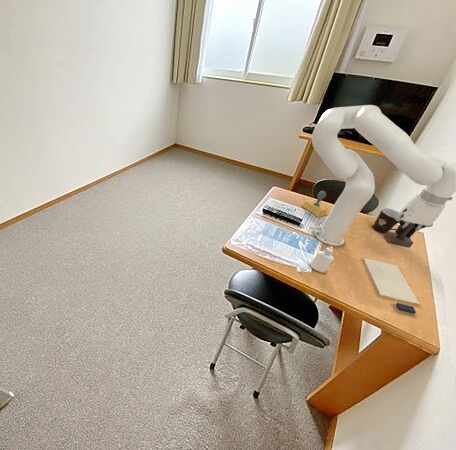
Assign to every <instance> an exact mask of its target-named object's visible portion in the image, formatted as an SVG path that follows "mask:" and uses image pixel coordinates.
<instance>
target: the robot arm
mask: <svg viewBox="0 0 456 450" xmlns="http://www.w3.org/2000/svg"><path fill="white" fill-rule="evenodd" d="M344 129H355V131H356V132H357V133H358V134H359V135H361V136H362V137H363V138H364V139H366V140H367V141H368V142H369V143H370V144H371V145H373V146H374V147H375V148H376V149H377V150H378V151H380V153H382V154H383V155H384V157H386V159H388V160H389V161H390V162H391V163H392V165H394V166H395V167H396V168H397V169H398V170H399V171H400V172H401V173H403V174H404V176H406V177H407V178H409V179H410V180H411V181H412V182H414V183H415V184H417V185H419V186H425V187H424V188H423V189H422V190H421V192H420V193H419V194H415V195H414V196H413V197H412V198H411V199H409V201H407V202H406V204H404V206H402V208H401V209H400V210H399V211H398V212H399V215H397V216H395V217H394V218H395V220H396V221H398V222H399V223H398V224H399V225H398V226H397V228H395V229H396V230H394V233H396V234H397V236H401V235H402V234H403V232H404V231H405V230H406V229H405V228H406V226H407V225H408V224H409V223H410V222H411V223H414V224H415V226H414V227H413V229H412V230H411V231H410V232H409V233H408V234H407V236H406V237H407V238H410V239H411V237H412V236H413V235H414V234H415V233H416V232H419V231H420V230H422V229H425V228H431V227H433V225H434V222H436V220H437V219H438V218H439V217H440V215H441V214H442V212H443V210H444V209H445V207H446V203H447V202H448V201H452V200H453V197H452V196H453V195H454V194H455V192H456V163H455V162H448V161H445V160H442V159H439V158H437V157H434V156H431V155H425V154H424V153H423V152H422V151H421V150H420V149H419V147H418V146H416V145H415V143H414V142H413V140H412V138H411V137H410V136H409V135H408V133H407V132H406V131H404V130H403V129H402V128H401V127H399V126H398V125H396V124H395V123H394V122H393V121H392V120H390V118H388V117H387V116H386V115H385V114H383V113H382V110H381V109H380V107H379V106H377V105H374V104H364V105H363V104H362V105H351V106H350V105H349V106H338V107H332V108H329V109H327V110H325V112H323V113H322V115H321V116H320V118H319V120H318V122H317V124H316V125H315V127H314V129H313V131H312V134H311V144H312V147H313V149H314V150H315V152H316V153H317V155H318V156H319V157H320V158H321V160H322V161H323V163H324V164H325V165H326V167H327V168H328V169H329V171H330V172H331V174H332V175H333V176H334V177H336V178H338V179H339V180H340V179H341V180H344V181H345V186H344V189H343V191H342V192H341V194H340V195H339V196H338V197H337V200H336V201H335V203H334V204H333V205H332V208H331V209H330V211H329V213H328V214H327V217H326V218H325V220H324V221H323V223H319V225H314V224H309V226H308V229H309V230H312V232H313V233H314V236H315V237H316V239H317V240H319V241H320V242H321V243H323V244H326V245H331V246H341V245H344V244H345V238H344V237H345V235H346V233H347V232H348V231H349V229H350V227H352V225H353V223H354V221H355V220H356V218H357V217H358V215H359V214H360V212H361V211H362V210H363V208H364V207H365V206H366V205H367V203H368V202H369V201H370V200H371V198H372V197H373V195H374V193H375V190H376V184H375V183H376V182H375V175H374V173H373V171H372V170H371V169H370V168H369V166H368V165H367V164H366V162H364V159H362V158H361V156H360V155H359V153H358V152H356V151H355V150H353V149H351V148H346V147H345V145H344V144H343V143H342V141H340V139H339V138H338V134H339V133H340V131H341V130H344ZM401 218H402V219H401Z"/></svg>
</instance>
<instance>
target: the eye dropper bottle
mask: <svg viewBox="0 0 456 450" xmlns="http://www.w3.org/2000/svg"><path fill="white" fill-rule="evenodd" d="M333 248H334V247H333V245H331V246H329V247H326V248H325V250H319V251H318V252H317V254H316V255H315V257H314V258H313V260H312V261H311V263H310V267H311V269H313V270H314V271H316V272H319V273H322V274H324V273H326V271H327V270H328V269H329V267H330V266H331V265H332V263H333V262H334V256H333V253H334V249H333Z"/></svg>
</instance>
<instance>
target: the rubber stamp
mask: <svg viewBox="0 0 456 450" xmlns="http://www.w3.org/2000/svg"><path fill="white" fill-rule="evenodd" d="M326 196H327V192H326V191H324V190H320V191H319V192H318V193H317V199H316V200H314V199H309V200H305V202H304V204H302V208H304V209H305V210H307V211H308V212H309V213H311V214H313V215H315V216H316V217H318V218H320V217H323V216H326V214H327V213H328V210H329V209H328V208H327V207H326V206H324V205H322V204H321V202H322V200H324V199H325V198H326Z"/></svg>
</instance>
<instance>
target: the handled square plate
mask: <svg viewBox="0 0 456 450" xmlns="http://www.w3.org/2000/svg"><path fill="white" fill-rule="evenodd" d="M414 226H415V224H414V223H411V222H410V223H409V224H408V225H407V226H406V228H405V229H406V230H405V231H404V232H403V234H402V235H401V236H397V234H396V233H395V231H394V232H393V231H390V230H389V231H387V232H386V233H385V234H384V233H383V238H384V240H385V241H386V243H387V244H389V245H394V246H399V247H403V248H408V249H410V248H411V247H412V245H414V242H413V240H412V239H411V237H410V238H407V237H406V236H407V234H408V233H409V232H410V231H411V230H412V229H413V227H414Z"/></svg>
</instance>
